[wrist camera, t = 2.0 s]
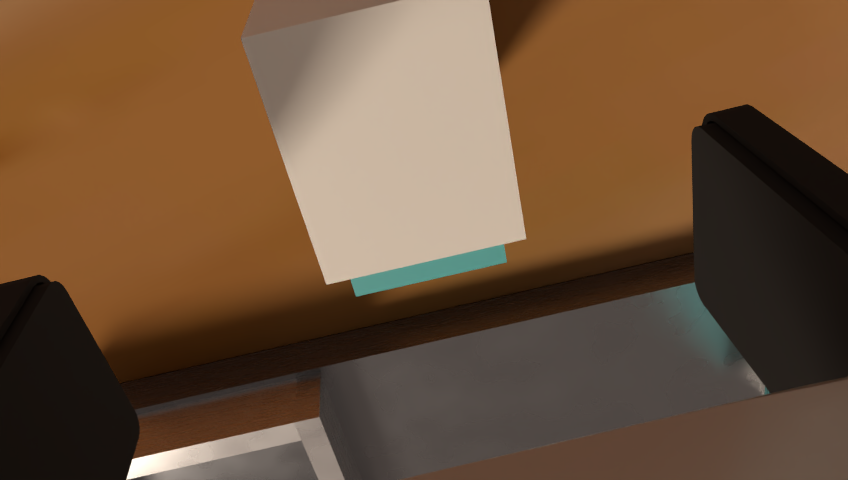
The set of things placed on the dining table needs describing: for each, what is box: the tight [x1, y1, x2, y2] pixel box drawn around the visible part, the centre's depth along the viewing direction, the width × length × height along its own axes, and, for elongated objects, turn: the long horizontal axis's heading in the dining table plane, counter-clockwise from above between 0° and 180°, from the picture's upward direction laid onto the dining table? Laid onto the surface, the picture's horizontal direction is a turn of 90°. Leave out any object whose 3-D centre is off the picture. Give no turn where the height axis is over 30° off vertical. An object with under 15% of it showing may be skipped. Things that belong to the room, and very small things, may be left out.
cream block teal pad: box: [241, 0, 526, 297], centre depth 17 cm, size 4×6×8 cm
